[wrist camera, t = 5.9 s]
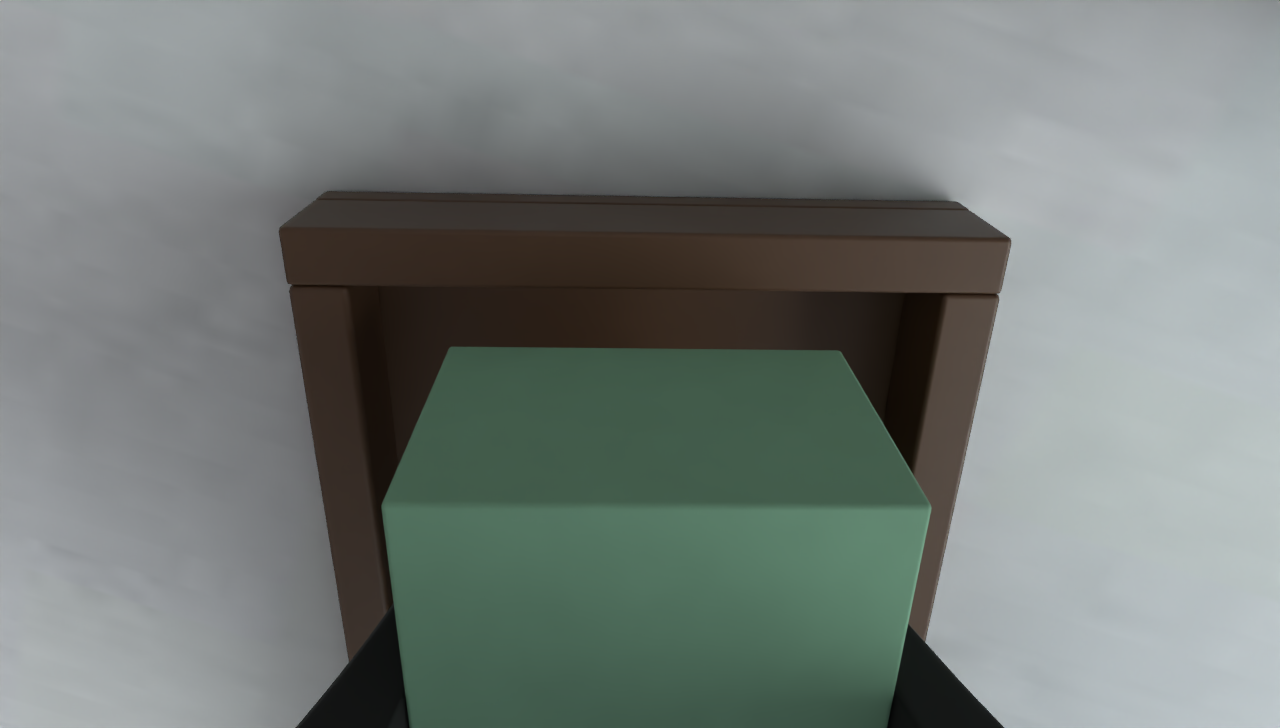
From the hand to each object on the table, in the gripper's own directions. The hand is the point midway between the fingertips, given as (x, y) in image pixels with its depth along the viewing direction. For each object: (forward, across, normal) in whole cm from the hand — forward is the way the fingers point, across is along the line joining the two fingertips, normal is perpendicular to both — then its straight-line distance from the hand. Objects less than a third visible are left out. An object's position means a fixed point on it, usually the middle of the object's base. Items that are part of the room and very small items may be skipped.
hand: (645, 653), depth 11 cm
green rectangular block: (+1, 0, 0) cm, 1 cm away
